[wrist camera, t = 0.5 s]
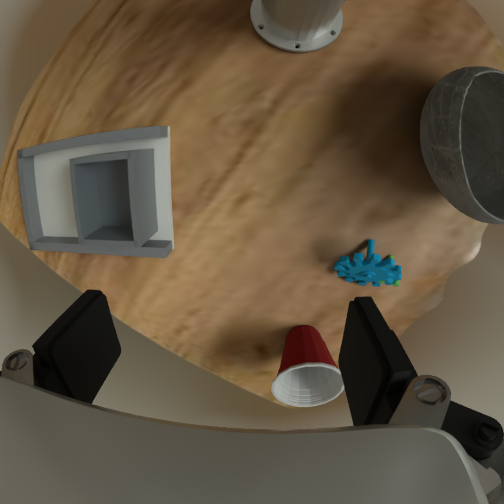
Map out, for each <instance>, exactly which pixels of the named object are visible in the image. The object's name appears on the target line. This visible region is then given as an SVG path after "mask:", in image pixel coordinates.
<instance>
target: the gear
mask: <svg viewBox="0 0 504 504" xmlns="http://www.w3.org/2000/svg"><path fill="white" fill-rule="evenodd" d="M374 243H375V241H374V240H368V247H367V257H366V258H365V259H364V260H363V258H364V254H362V253H354V259H353V260H354V261H355V262H352V261H350V257H349V256H342V257H340V261H338V262H336V263H335V267H334V269H335V270H338V271H337V275H338V276H340V277H343V276H345V280H346V281H348V282H353V281H356V280H358V284H359V285H362V286H365V285H366V283H368V282H371V281H373V282H372V286H376V287H380V283H381V284H384V283H385V284H386V285H393V286H399V280H400V279H401V266H399V265H397V266H395V261H394V260H393V256H392V255H390V256H389V259H386V260H384V261H381V256H380V255H378V254H374Z"/></svg>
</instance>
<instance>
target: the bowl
mask: <svg viewBox="0 0 504 504" xmlns="http://www.w3.org/2000/svg"><path fill="white" fill-rule="evenodd" d="M420 144H421V151H422V155H423V159H424V162H425V165H426V167H427V169H428V172H429V174H430V176H431V178H432V180H433V181H434V183H435V185H436V186H437V187H438V189H439V190H440V192H441V193H442V194H443V196H444V197H445V198H446V199H447V200H448V202H449V203H451V204H452V205H453V206H454V207H455V208H456V209H458V210H459V211H460V212H462V213H464V214H465V215H467V216H469V217H471V218H473V219H475V220H478V221H481V222H485V223H491V224H504V72H502V71H499V70H497V69H493V68H489V67H479V66H477V67H464V68H461V69H457V70H455V71H452V72H450V73H449V74H447V75H445V76H444V77H443V78H442V79H441V80H440V81H439V82H438V83H436V85H435V86H434V87H433V88H432V90H431V91H430V93H429V95H428V97H427V99H426V102H425V105H424V107H423V110H422V114H421V119H420Z"/></svg>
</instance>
